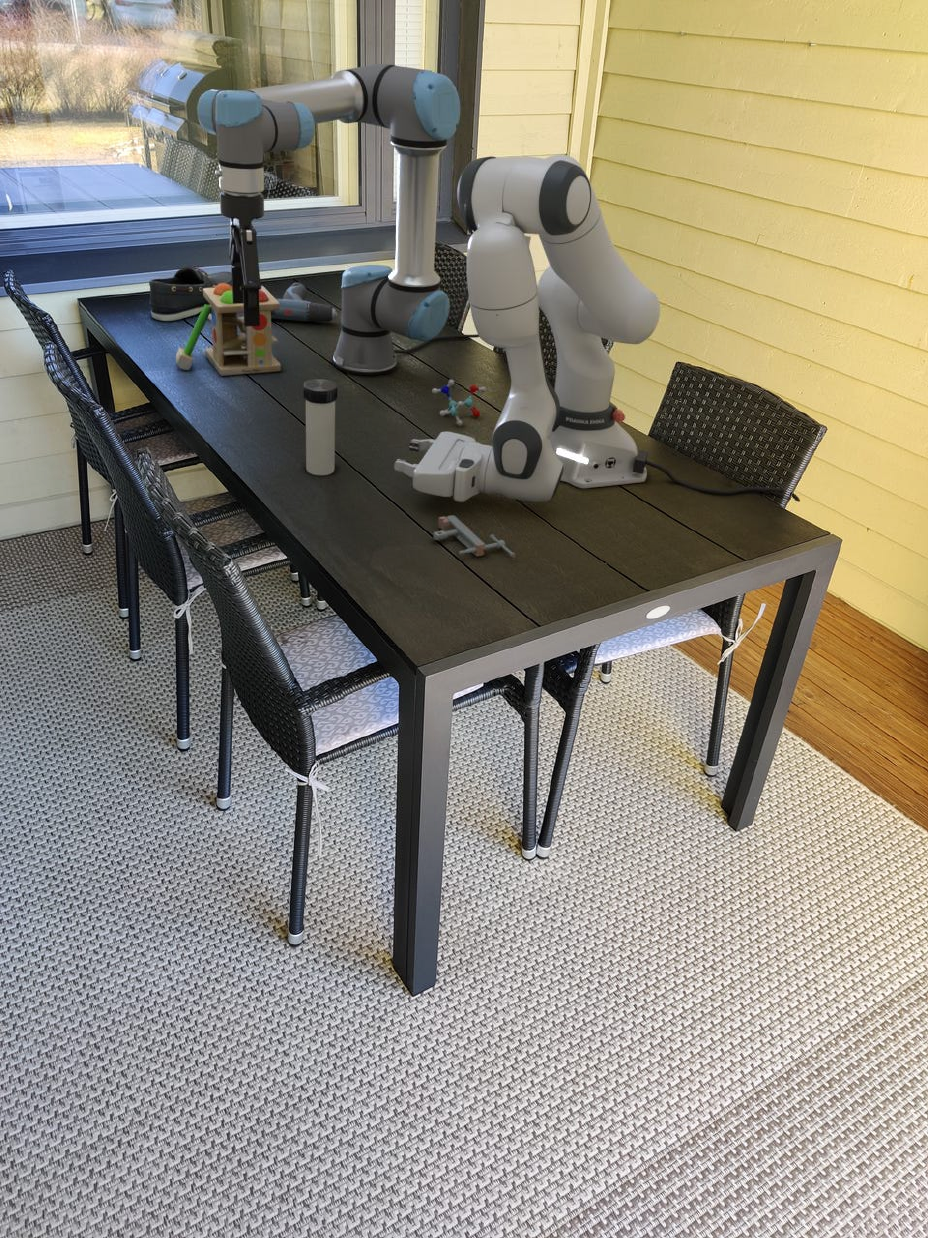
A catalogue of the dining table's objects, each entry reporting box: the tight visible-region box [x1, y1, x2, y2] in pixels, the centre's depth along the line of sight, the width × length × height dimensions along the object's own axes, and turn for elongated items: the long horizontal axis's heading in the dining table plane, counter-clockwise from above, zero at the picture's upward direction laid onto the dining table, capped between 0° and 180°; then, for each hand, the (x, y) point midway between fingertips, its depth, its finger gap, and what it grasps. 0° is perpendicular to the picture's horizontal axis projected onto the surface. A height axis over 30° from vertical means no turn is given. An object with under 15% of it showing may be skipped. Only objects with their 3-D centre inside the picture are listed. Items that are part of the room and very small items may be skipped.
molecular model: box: [431, 379, 487, 427], centre depth 214 cm, size 12×10×10 cm
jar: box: [305, 399, 336, 476], centre depth 185 cm, size 5×5×16 cm
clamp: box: [433, 515, 517, 559], centre depth 169 cm, size 15×2×10 cm
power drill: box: [271, 282, 338, 322], centre depth 265 cm, size 5×19×20 cm
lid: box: [303, 378, 338, 404], centre depth 181 cm, size 6×6×2 cm
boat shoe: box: [148, 265, 232, 322], centre depth 262 cm, size 13×33×10 cm, turn 147°
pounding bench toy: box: [174, 283, 282, 377], centre depth 225 cm, size 23×14×18 cm, turn 116°
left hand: (245, 314), depth 182 cm, fingers open, 13 cm apart
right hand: (403, 454), depth 183 cm, fingers open, 8 cm apart
